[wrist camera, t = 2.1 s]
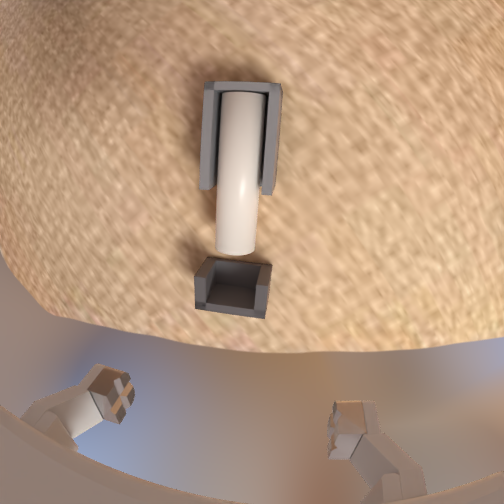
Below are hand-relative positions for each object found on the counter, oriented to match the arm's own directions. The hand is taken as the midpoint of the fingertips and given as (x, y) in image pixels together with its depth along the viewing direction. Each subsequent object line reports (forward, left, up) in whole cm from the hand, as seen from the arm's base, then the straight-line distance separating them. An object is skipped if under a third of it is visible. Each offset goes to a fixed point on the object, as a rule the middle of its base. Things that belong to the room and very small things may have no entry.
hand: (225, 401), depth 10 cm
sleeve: (-9, -3, -24) cm, 25 cm away
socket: (+7, -3, -24) cm, 25 cm away
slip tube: (-5, -3, -22) cm, 23 cm away
